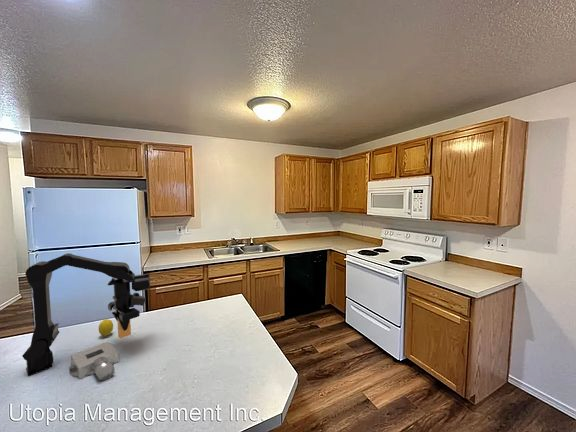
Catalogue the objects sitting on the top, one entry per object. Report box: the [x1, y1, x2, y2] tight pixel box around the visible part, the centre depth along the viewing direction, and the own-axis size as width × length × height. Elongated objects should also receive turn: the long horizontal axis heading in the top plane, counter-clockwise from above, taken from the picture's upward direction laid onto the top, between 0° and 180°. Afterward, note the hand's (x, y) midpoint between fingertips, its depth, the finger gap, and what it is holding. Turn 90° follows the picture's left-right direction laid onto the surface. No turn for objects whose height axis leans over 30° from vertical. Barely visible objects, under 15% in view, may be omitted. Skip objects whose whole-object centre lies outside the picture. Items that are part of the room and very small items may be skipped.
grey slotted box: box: [69, 341, 120, 381], centre depth 94 cm, size 15×22×5 cm
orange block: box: [116, 319, 132, 339], centre depth 106 cm, size 4×2×8 cm, turn 141°
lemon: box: [98, 318, 114, 337], centre depth 116 cm, size 6×6×8 cm
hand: (124, 329), depth 107 cm, fingers closed on orange block, 2 cm apart
